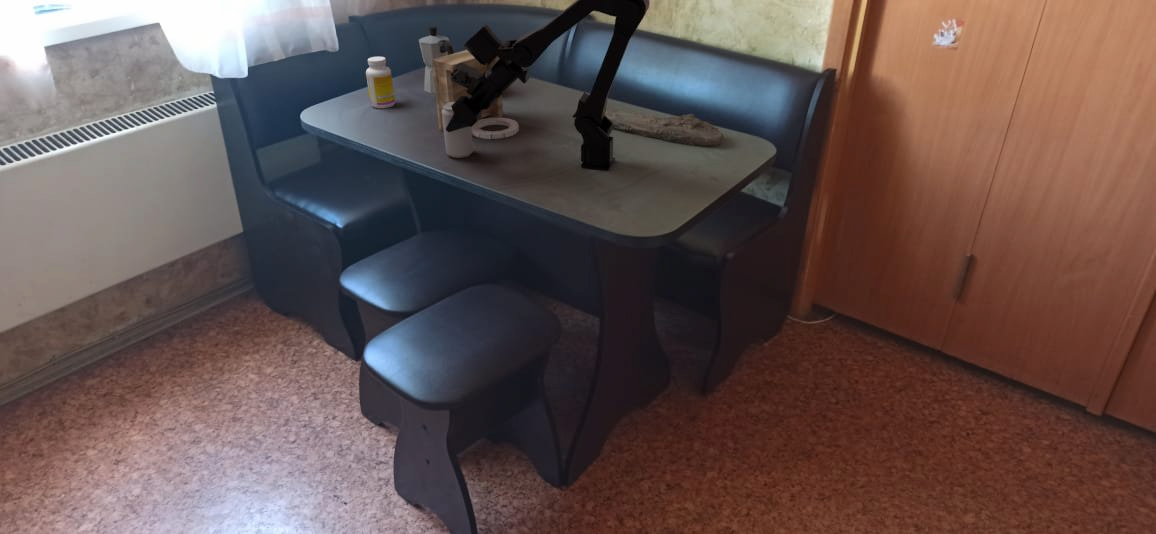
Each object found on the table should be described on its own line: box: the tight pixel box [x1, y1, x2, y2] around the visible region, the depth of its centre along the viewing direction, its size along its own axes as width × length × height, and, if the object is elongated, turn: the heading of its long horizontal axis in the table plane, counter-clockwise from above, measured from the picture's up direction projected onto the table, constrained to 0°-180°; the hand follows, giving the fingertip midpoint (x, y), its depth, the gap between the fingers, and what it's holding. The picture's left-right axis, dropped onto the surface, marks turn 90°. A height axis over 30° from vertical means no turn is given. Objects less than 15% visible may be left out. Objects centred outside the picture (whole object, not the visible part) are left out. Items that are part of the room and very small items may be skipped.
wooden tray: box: [432, 49, 504, 133], centre depth 197 cm, size 7×18×18 cm, turn 140°
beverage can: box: [442, 102, 474, 159], centre depth 181 cm, size 6×6×12 cm
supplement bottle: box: [365, 56, 396, 109], centre depth 212 cm, size 7×7×13 cm
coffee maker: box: [418, 25, 455, 95], centre depth 221 cm, size 15×9×18 cm, turn 43°
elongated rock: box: [605, 108, 725, 147], centre depth 195 cm, size 35×5×10 cm
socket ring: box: [471, 116, 520, 140], centre depth 197 cm, size 12×12×1 cm
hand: (453, 123), depth 180 cm, fingers open, 9 cm apart
